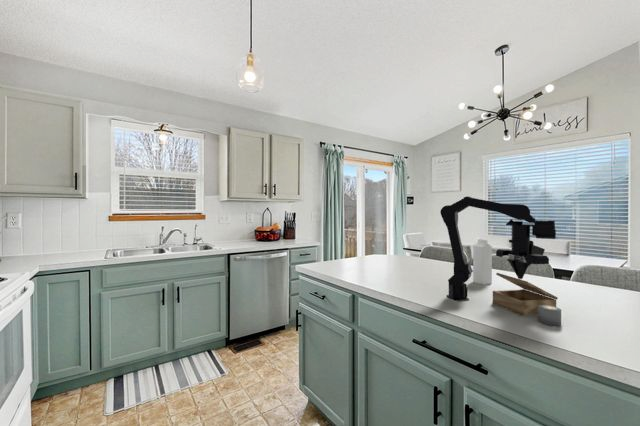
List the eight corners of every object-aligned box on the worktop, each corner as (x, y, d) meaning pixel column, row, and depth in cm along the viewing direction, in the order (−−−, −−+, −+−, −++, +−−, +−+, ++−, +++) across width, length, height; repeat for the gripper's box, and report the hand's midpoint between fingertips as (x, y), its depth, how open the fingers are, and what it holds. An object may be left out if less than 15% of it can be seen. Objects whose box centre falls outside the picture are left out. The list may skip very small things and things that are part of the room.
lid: (525, 283, 103) (526, 281, 103) (496, 274, 118) (496, 272, 118) (557, 299, 105) (557, 297, 105) (523, 288, 119) (524, 287, 119)
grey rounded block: (549, 327, 94) (549, 311, 94) (533, 320, 100) (533, 305, 99) (566, 326, 94) (566, 310, 94) (549, 319, 100) (549, 304, 100)
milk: (482, 284, 146) (482, 240, 145) (472, 281, 152) (472, 239, 151) (492, 283, 147) (492, 240, 147) (482, 280, 153) (482, 238, 153)
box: (521, 315, 103) (521, 301, 103) (492, 303, 117) (492, 290, 117) (556, 313, 105) (556, 299, 105) (524, 301, 119) (524, 289, 119)
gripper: (563, 239, 103) (562, 284, 103) (519, 235, 121) (519, 272, 121) (534, 240, 101) (534, 285, 101) (495, 235, 120) (494, 273, 120)
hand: (520, 278), depth 111 cm, fingers closed
